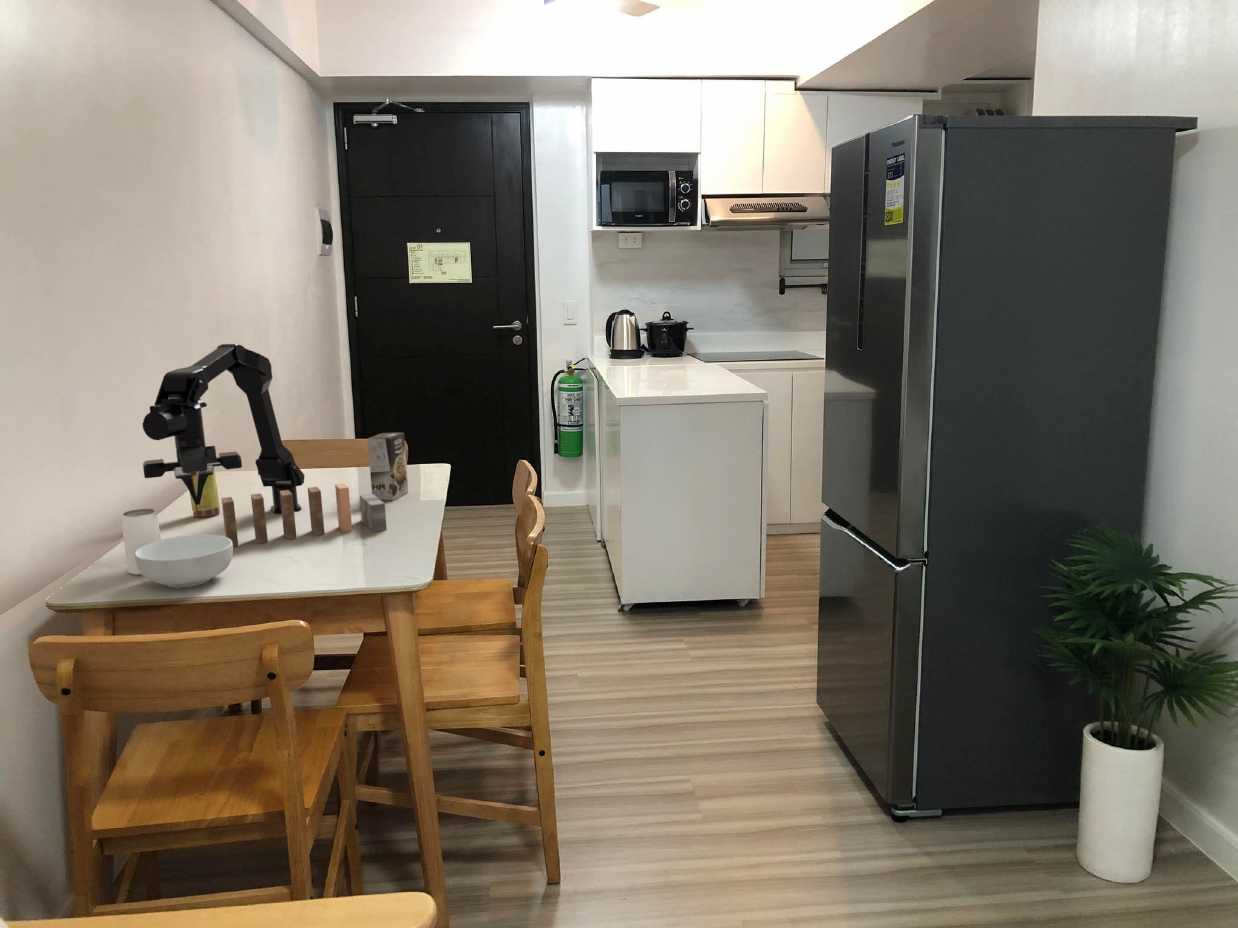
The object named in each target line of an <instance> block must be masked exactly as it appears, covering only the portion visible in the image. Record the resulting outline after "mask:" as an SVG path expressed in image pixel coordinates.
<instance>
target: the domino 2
mask: <svg viewBox="0 0 1238 928" xmlns="http://www.w3.org/2000/svg"><path fill="white" fill-rule="evenodd" d="M250 500H251V507H252V508H251V509H252V510H251V511H252V518H253V519H252V520H253V527H254V536H255V537H254V539H255V540H256V542H257V544H258V545H262V544H268V543H269V539H268V530H267V521H266V520H267V519H266V510H265V500H264V497H263V495H262V494H261V493H253V494H252V493H251V494H250Z"/></svg>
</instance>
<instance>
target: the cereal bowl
mask: <svg viewBox="0 0 1238 928" xmlns="http://www.w3.org/2000/svg"><path fill="white" fill-rule="evenodd" d="M233 553H234V548H233V543H232V541H231V540H230V539H229V538H227V537H226V536H224V535H223V536H222V535H217V534H216V535H215V534H190V535H189V534H188V535H181V536H174V537H173V536H172V537H168V538H164V539H163V538H162V539H161V540H159V541H155V542H152V543H149V544H147V545H144V546H142V547H140V548H139V549H138V550H137V551H136V552H135V560H136V565H137V568H138V570H139V572H140V573H141V574H142V575H141V576H142V577H143V578H145V579H146V580H148V581H149V582H152V583H156V584H159V585H160V584H161V585H164V586H166V587H169V588H172V587H174V589H181V588H180V587H186V588H192V587H191V586H193V587H197V586H200V585H199V584H201V585H203V584H205V582H206V583H208V582H209V581H210V580H211V579H212V578H214V577H216V576H219V575H220V574H222V573H223V572H225V570H226V569H227V568H228V567H229V566H230V564H231V562H232V559H233V555H234V554H233ZM207 581H208V582H207ZM202 583H203V584H202ZM196 585H197V586H196ZM176 587H177V588H176Z"/></svg>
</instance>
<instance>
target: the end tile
mask: <svg viewBox="0 0 1238 928" xmlns="http://www.w3.org/2000/svg"><path fill="white" fill-rule="evenodd" d="M334 488H335V498H336V499H335V500H336V510H337V511H336V512H337V523H338V528H339V530H341V531H342V532H343V533H346V532H347V533H348V532H353V528H352V527H353V525H352V515H351V514H352V512H351V502H350V501H351V500H350V492H349V490H350V489H349V487H348V486H347V485H346V484H345V483H339V484H338V483H336V484H335V485H334Z"/></svg>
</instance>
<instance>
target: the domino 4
mask: <svg viewBox="0 0 1238 928" xmlns="http://www.w3.org/2000/svg"><path fill="white" fill-rule="evenodd" d="M307 496H308V507H309V516H310V518H309V519H310V526H311V527H310V528H311V532H312V534H313V535H314V536H315V537H317V536H325V533H326V532H325V521H324V513H323V512H324V511H323V502H322V501H323V500H322V491H321V489H320V488H319V487H318V486H312V487H307Z"/></svg>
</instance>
